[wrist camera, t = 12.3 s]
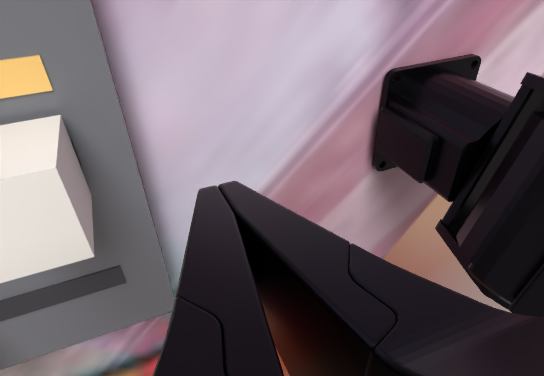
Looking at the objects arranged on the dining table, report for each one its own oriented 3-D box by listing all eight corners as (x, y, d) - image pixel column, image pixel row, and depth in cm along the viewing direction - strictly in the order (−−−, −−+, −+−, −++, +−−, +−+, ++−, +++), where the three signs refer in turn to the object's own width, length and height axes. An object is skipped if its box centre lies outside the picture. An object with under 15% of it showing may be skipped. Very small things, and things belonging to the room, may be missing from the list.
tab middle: (60, 114, 14) (55, 167, 11) (91, 195, 16) (94, 256, 13) (-37, 131, 13) (-70, 194, 10) (9, 214, 15) (-7, 285, 12)
